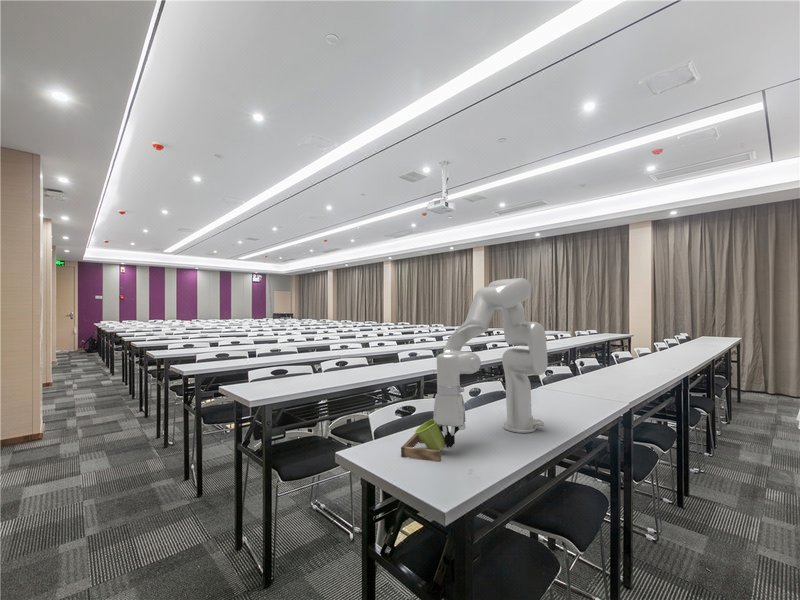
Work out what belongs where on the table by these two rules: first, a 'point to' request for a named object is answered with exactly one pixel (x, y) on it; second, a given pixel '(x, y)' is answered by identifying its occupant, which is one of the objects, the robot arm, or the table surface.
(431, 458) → the dock
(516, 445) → the table surface
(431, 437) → the plant pot
